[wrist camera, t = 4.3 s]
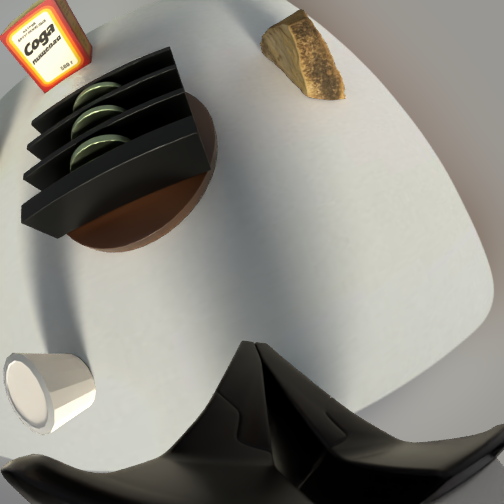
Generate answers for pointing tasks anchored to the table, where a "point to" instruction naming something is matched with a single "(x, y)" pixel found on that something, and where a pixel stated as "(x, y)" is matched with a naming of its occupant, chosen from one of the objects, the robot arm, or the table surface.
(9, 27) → the baking soda box
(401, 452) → the robot arm
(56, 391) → the white faceted cup
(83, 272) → the table surface
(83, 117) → the dish rack
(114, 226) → the base
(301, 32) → the rock
